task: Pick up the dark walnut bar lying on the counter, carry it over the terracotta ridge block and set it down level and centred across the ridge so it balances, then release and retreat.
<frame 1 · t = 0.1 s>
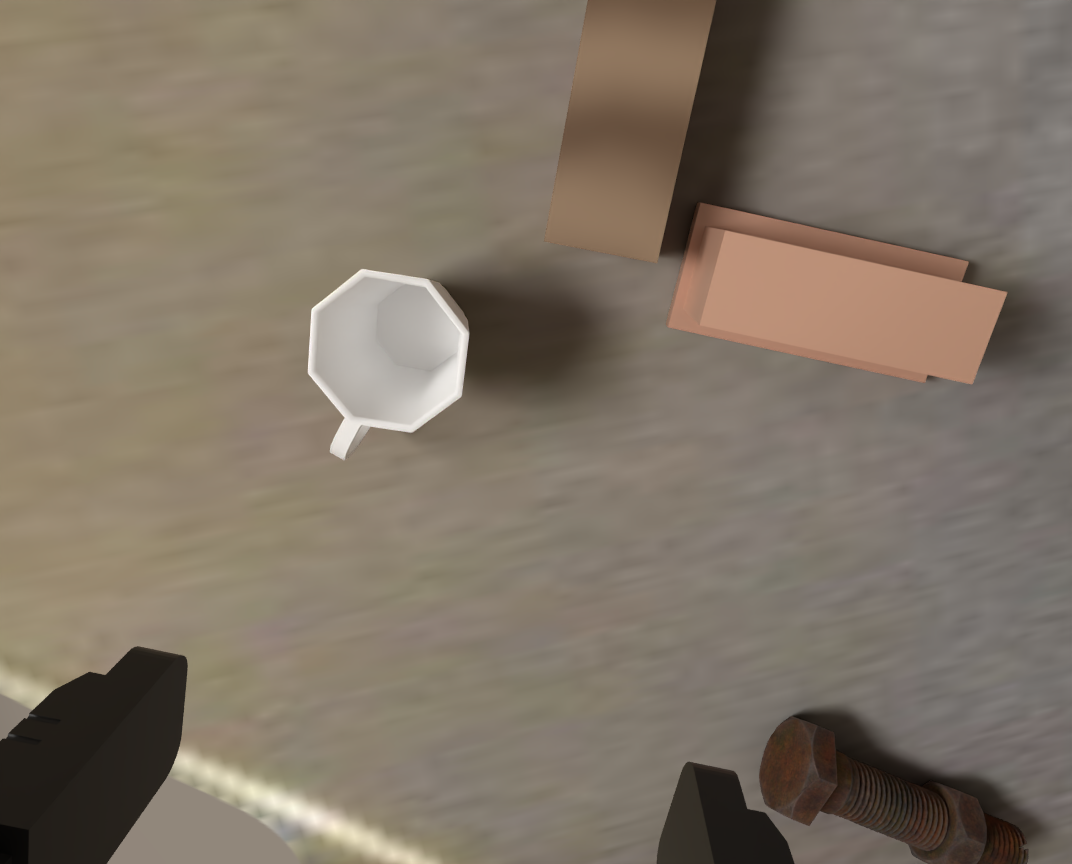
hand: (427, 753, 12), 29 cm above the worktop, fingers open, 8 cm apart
cup: (410, 347, 40), on the worktop
ridge: (809, 292, 38), on the worktop
bolt: (880, 779, 47), on the worktop
walnut bar: (646, 1, 35), on the worktop
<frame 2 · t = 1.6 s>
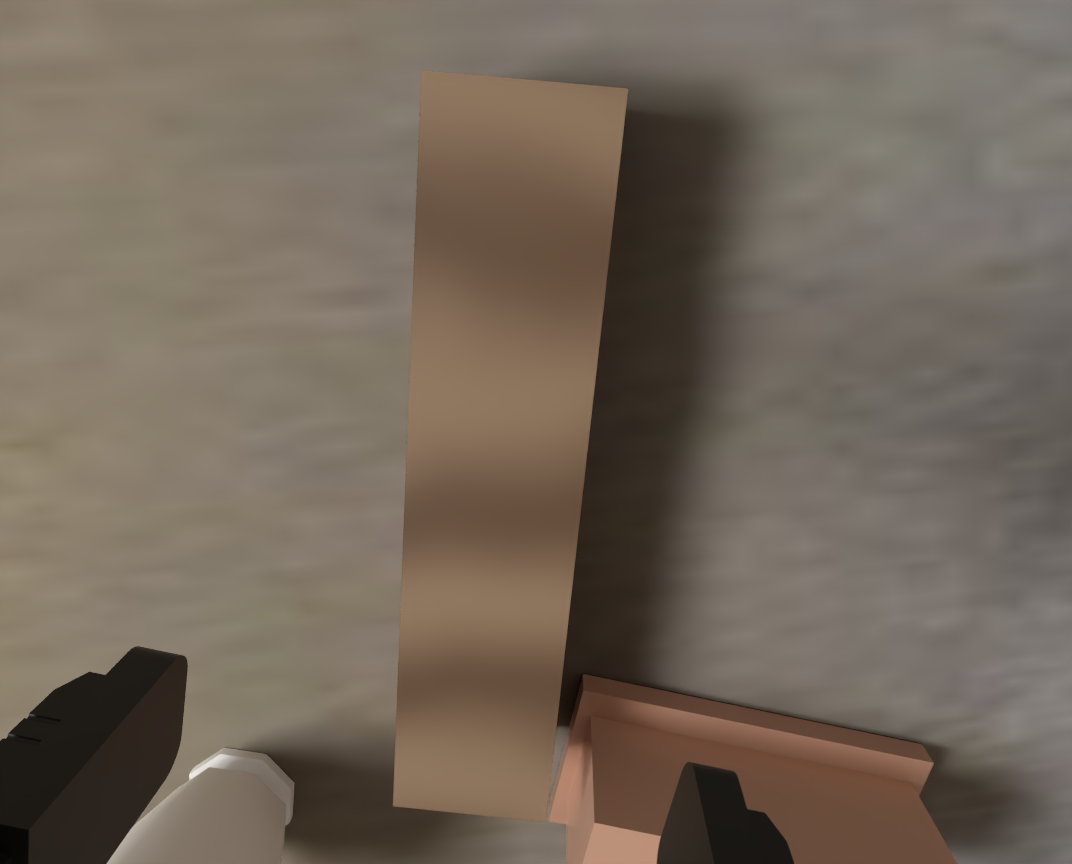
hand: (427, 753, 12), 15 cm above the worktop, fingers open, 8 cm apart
cup: (230, 813, 32), on the worktop
ridge: (730, 773, 30), on the worktop
walnut bar: (506, 446, 27), on the worktop
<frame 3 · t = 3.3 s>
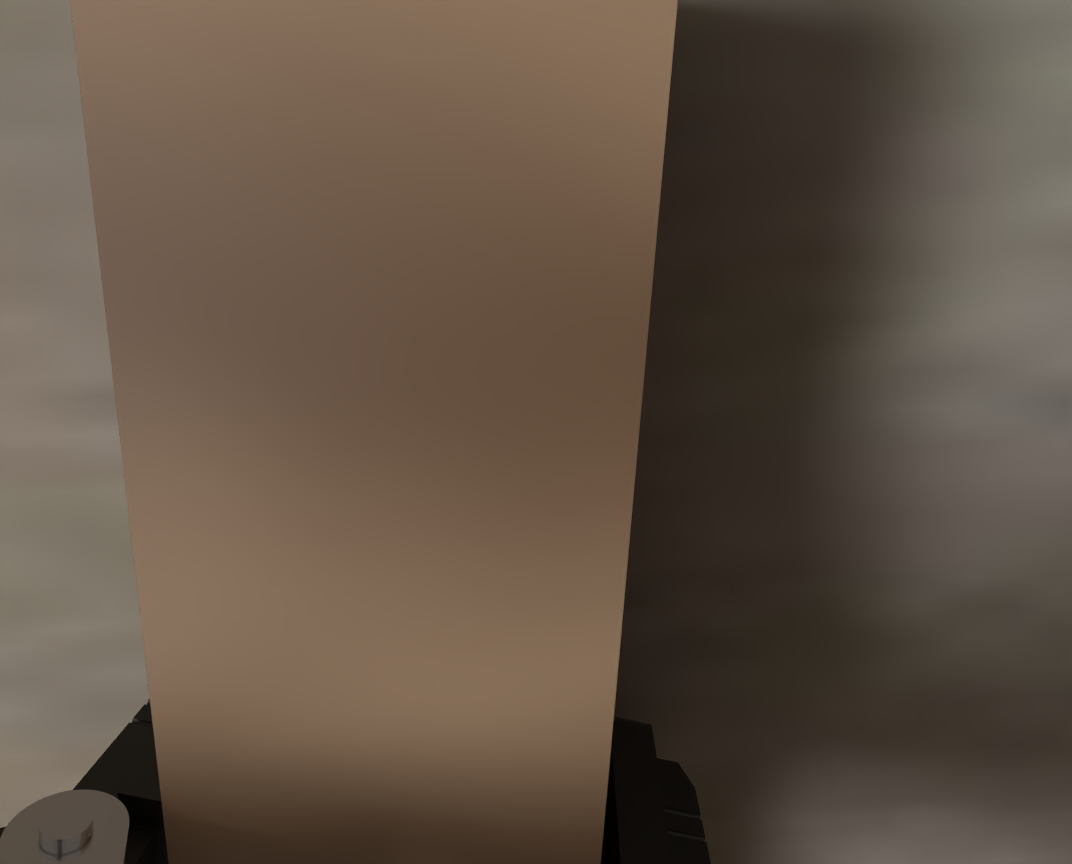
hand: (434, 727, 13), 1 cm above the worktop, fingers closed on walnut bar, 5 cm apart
walnut bar: (446, 678, 14), on the worktop, touching gripper
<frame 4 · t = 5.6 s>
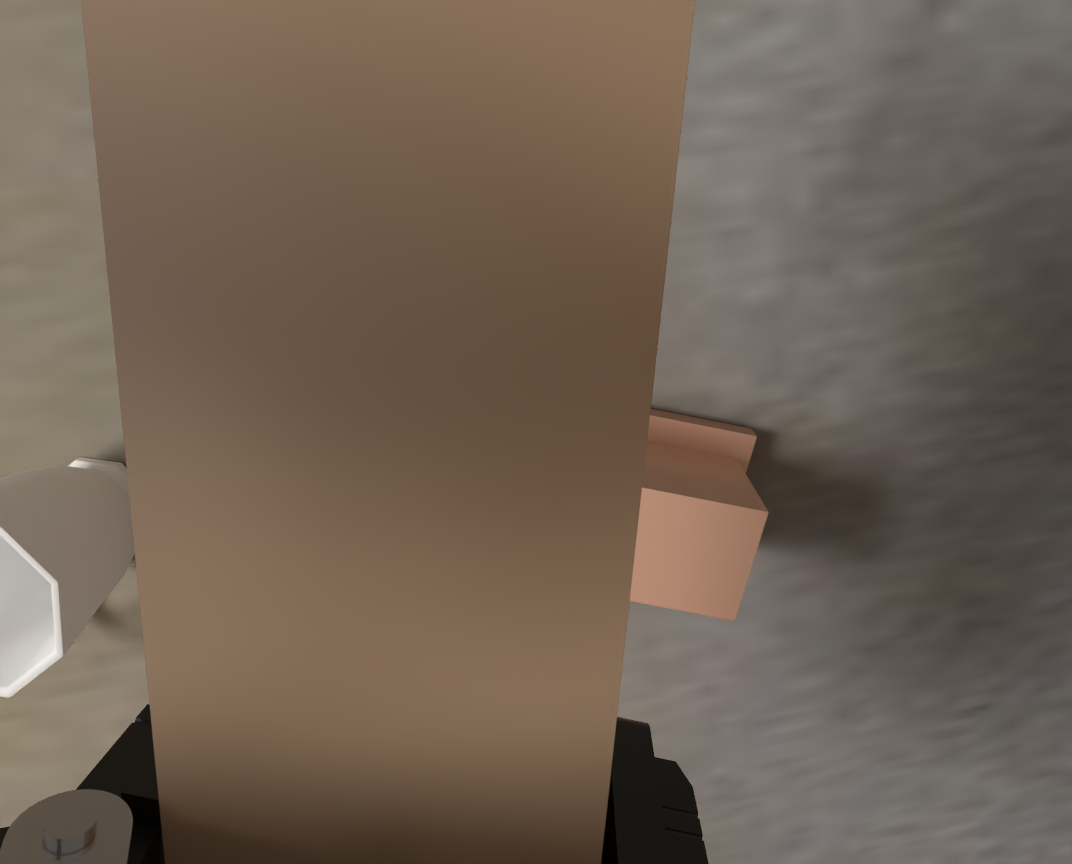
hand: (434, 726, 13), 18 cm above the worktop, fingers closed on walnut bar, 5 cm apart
cup: (94, 531, 33), on the worktop
ridge: (569, 467, 31), on the worktop
walnut bar: (445, 680, 14), point 17 cm above the worktop, touching gripper
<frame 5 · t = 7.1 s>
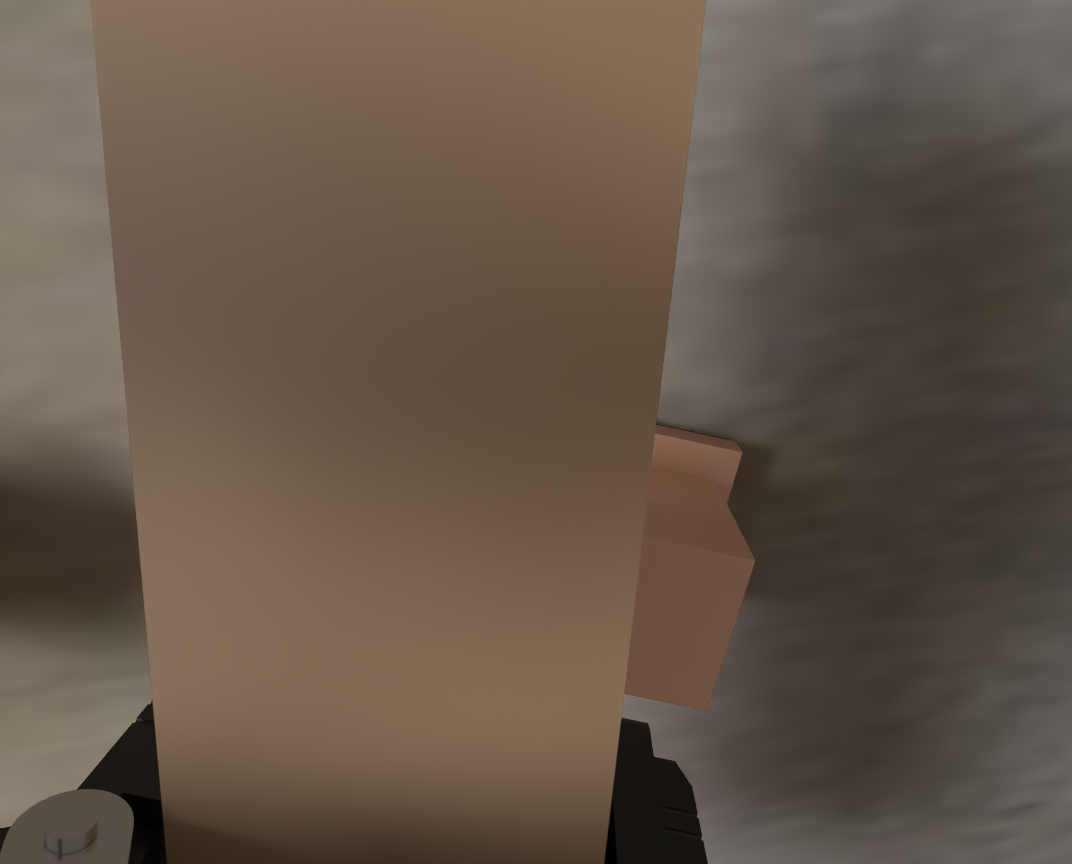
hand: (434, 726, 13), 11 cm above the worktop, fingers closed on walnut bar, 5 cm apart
ridge: (497, 489, 23), on the worktop
walnut bar: (446, 683, 14), point 10 cm above the worktop, touching gripper
when the fingers open (8 cm above the worktop, at t = 8.2 s): walnut bar stays where it is, resting on ridge.
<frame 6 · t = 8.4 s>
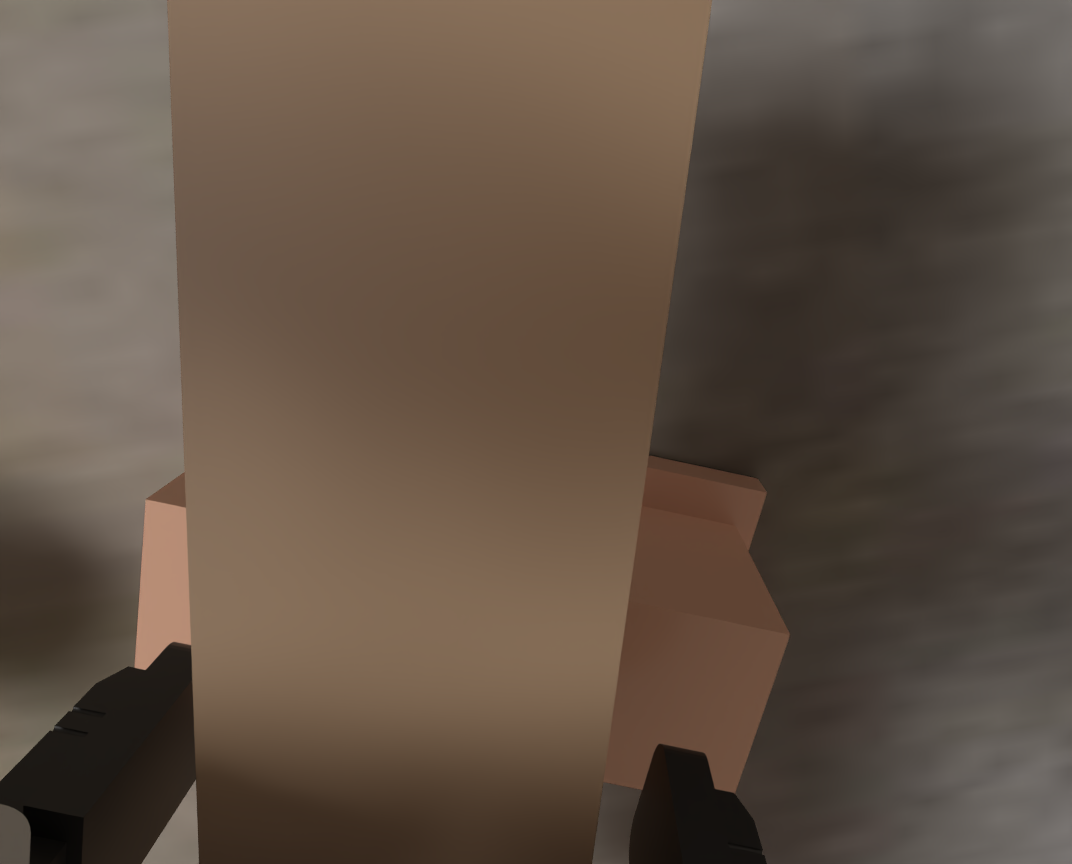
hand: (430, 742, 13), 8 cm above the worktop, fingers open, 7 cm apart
ridge: (484, 531, 21), on the worktop
walnut bar: (450, 654, 15), point 6 cm above the worktop, touching ridge
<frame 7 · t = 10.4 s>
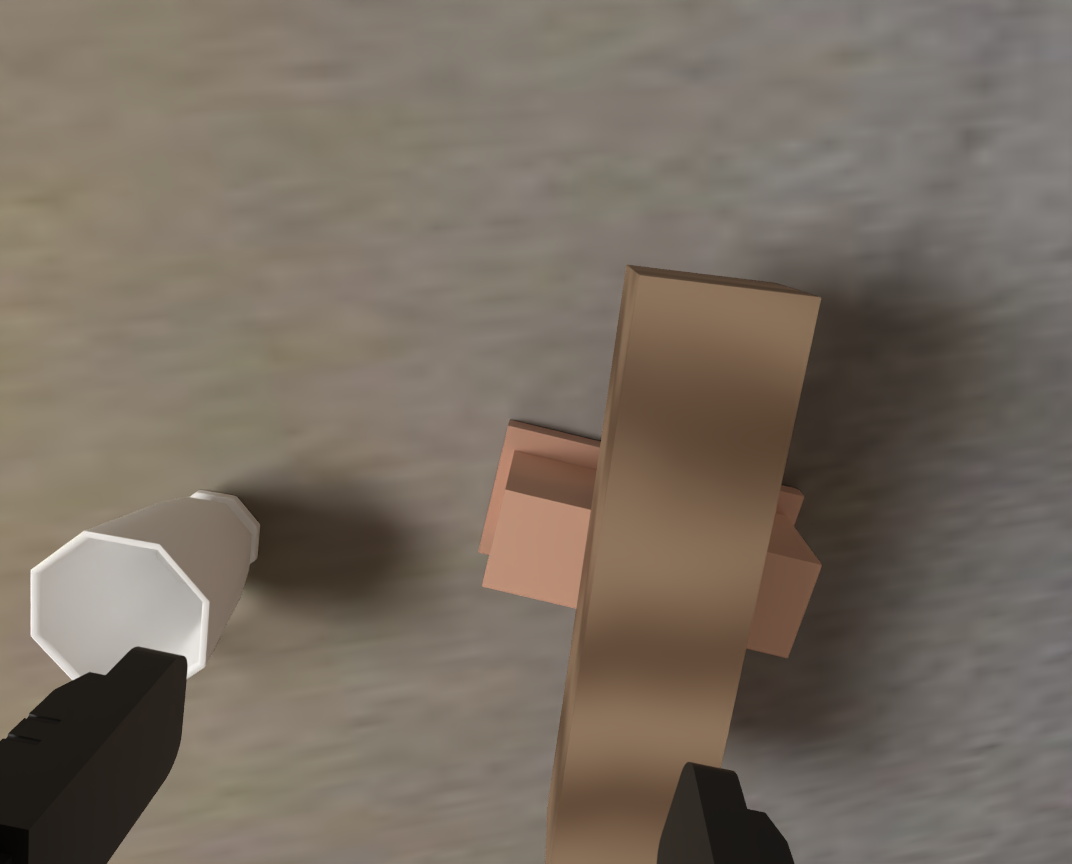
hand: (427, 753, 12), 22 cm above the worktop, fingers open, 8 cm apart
cup: (203, 556, 37), on the worktop
ridge: (636, 516, 35), on the worktop
walnut bar: (649, 572, 29), point 6 cm above the worktop, touching ridge
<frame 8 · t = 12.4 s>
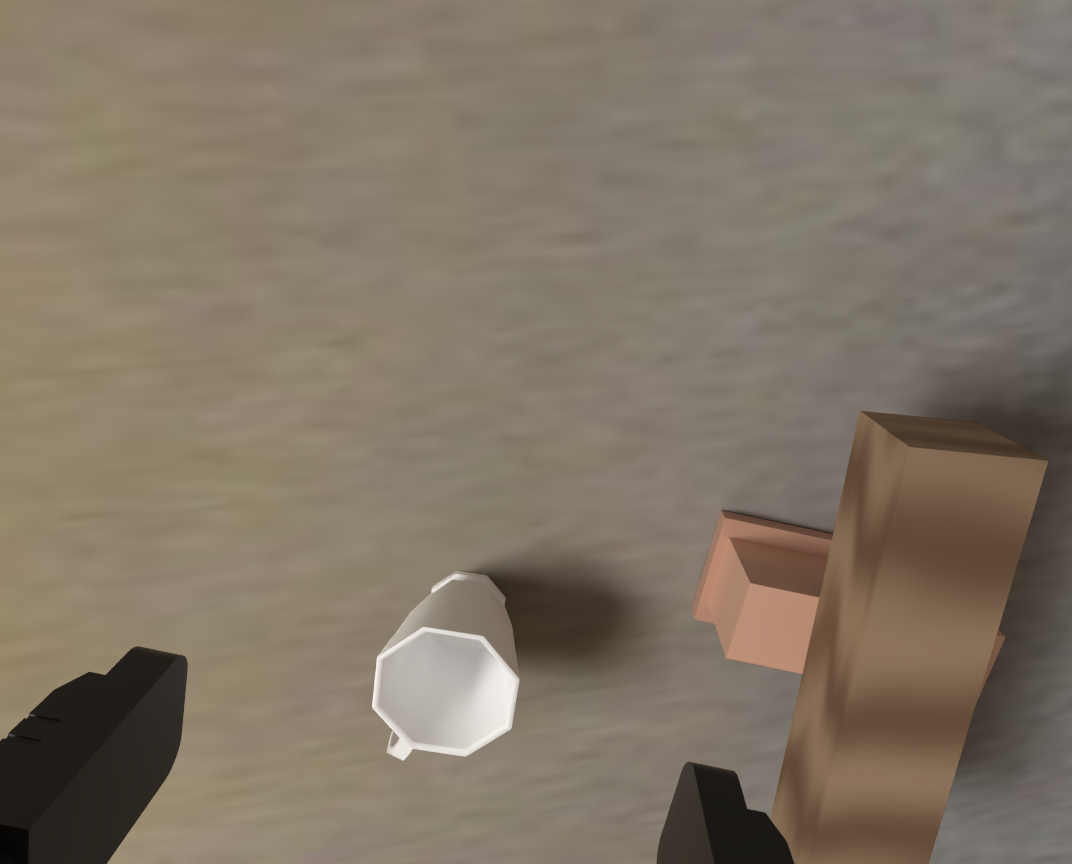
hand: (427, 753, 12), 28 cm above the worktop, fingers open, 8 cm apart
cup: (454, 624, 44), on the worktop
ridge: (823, 586, 42), on the worktop
walnut bar: (864, 644, 36), point 6 cm above the worktop, touching ridge
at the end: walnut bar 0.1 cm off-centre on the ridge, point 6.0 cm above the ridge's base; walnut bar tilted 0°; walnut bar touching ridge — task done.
